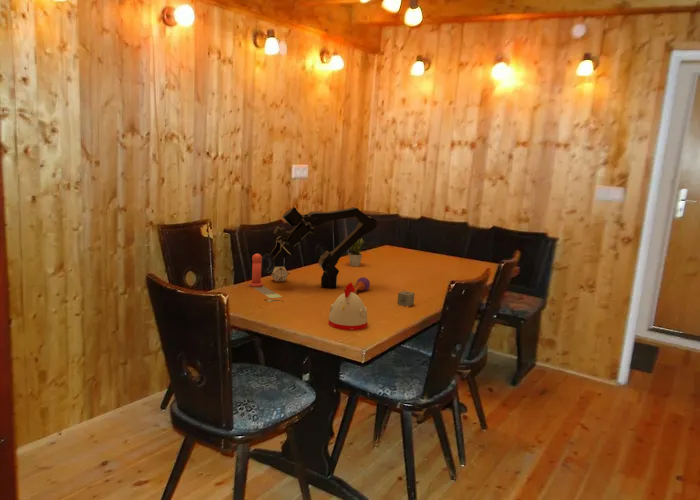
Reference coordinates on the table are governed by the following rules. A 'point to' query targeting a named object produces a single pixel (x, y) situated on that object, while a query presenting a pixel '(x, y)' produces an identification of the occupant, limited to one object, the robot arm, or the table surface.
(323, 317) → the table surface
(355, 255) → the house plant
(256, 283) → the pawn
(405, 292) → the grey symbol cube
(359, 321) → the kitchen timer
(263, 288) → the board
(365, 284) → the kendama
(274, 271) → the game die
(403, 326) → the table surface
